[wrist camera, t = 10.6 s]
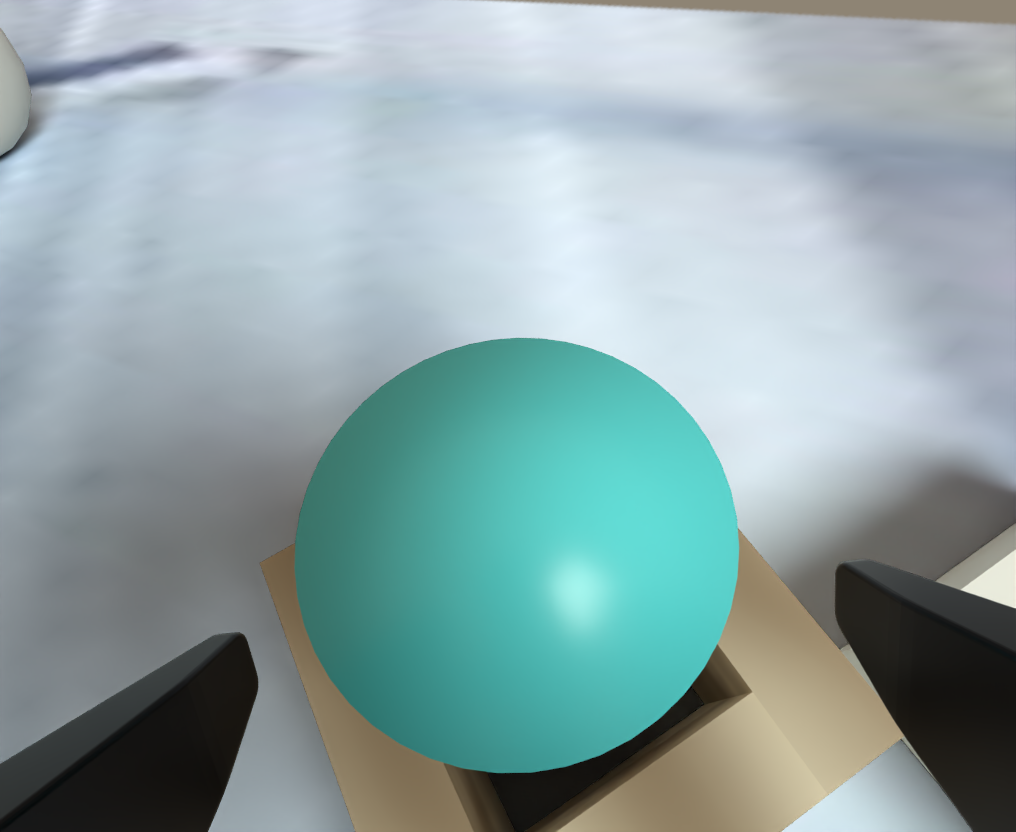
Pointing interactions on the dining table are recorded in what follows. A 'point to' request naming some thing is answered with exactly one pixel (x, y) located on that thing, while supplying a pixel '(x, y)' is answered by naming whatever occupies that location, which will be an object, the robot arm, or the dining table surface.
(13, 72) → the donut
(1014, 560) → the holster
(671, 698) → the plug
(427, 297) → the dining table surface
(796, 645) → the socket block
